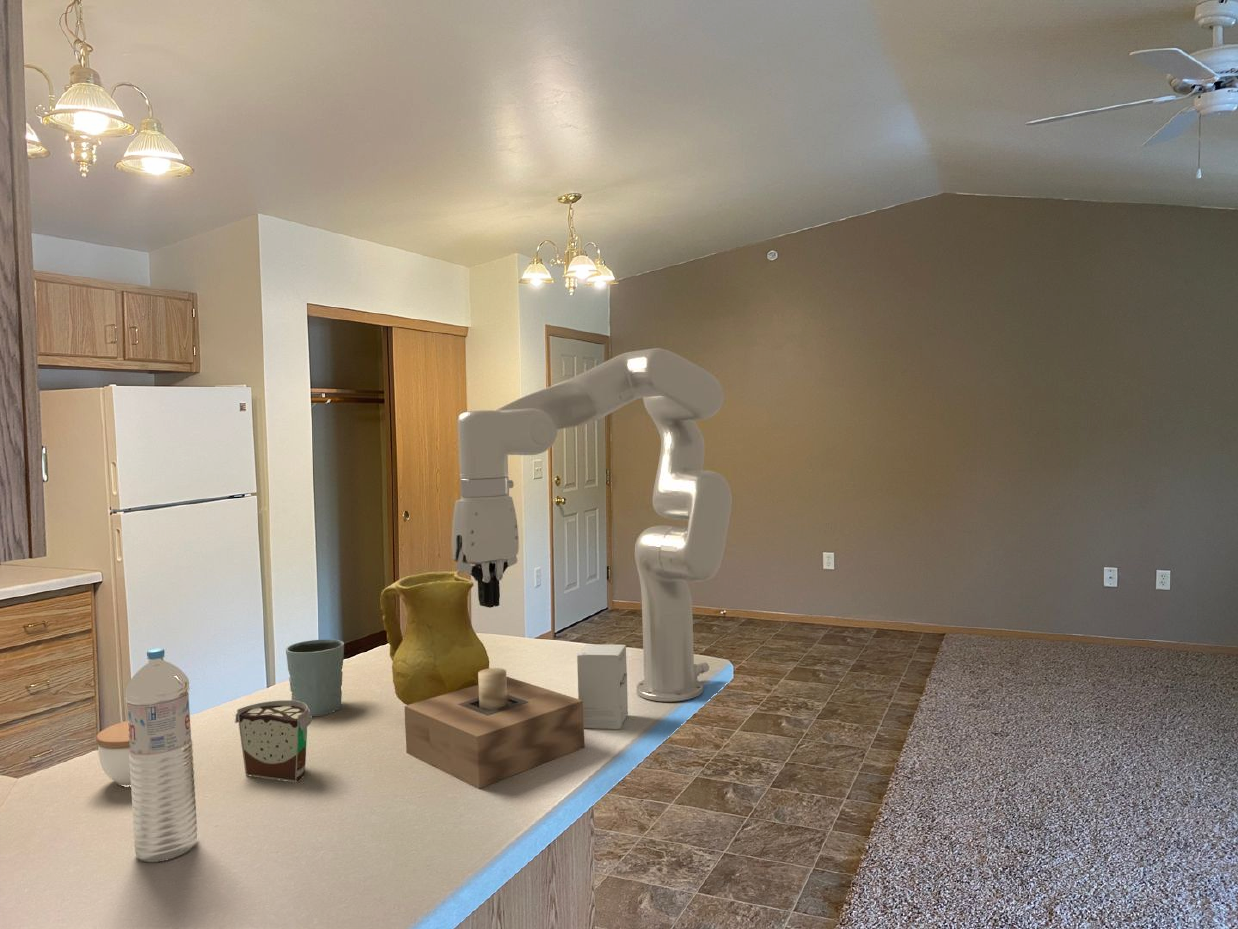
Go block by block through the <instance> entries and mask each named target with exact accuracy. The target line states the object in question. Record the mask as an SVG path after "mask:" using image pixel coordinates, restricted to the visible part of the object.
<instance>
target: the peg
mask: <svg viewBox="0 0 1238 929" xmlns="http://www.w3.org/2000/svg"><path fill="white" fill-rule="evenodd" d="M507 677H508V676H507V670H506V669H505V668H502V667H489V669H484V670H481V671H479V672H478V682H479V706H480V708H481V709H484V710H486V711H493V710H496V709H499V708H502V707H505V706H508V702H507Z"/></svg>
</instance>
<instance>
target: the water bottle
mask: <svg viewBox="0 0 1238 929" xmlns="http://www.w3.org/2000/svg"><path fill="white" fill-rule="evenodd" d="M146 656H147V660H148V663H146V664H144V666H142V667H141V668H140V669H139V670H138V671H137V672H136V673H135V674H134V675H133V676H132V678H130V681H129V682H128V684H127V686H126V688H125V690H124V691H125V692H124V694H125V702H126V703H127V721H128V724H129V742H130V752H129V759H130V774H131V776H130V779H131V787H130V788H131V790H130V791H131V794H130V795H131V809H132V825H133V827H132V828H133V840H134V841H133V843H134V852H135V855H136V857H137V859H139V860H140V861H142V862H145V861H146V863H157V862H156V861H160V862H163V861H162V860H166V859H170V860H172V858H173V859H175V858H174V857H176V858H178V857H180V855H181V856H182V854H183V855H184V854H186V853H187V852H189V851H190V850H191V848H192V847H193V848H194V846H196V844H197V840H198V826H197V825H198V821H197V816H198V815H197V804H196V802H197V801H196V786H195V769H194V768H195V765H194V755H193V754H194V750H193V745H194V744H193V740H192V730H191V729H192V728H191V716H190V712H191V711H190V700H189V698H190V696H189V695H190V694H189V692H190V680H189V677H188V676H187V675H186V673H185V672H183V670H181V669H180V668H179V667H177V666H176V665H175V664H173V663H171V662H169V661H167V660H164V659H165V656H166V655H165V649H164V648H159V647H157V648H153V649H149V650H148V651H147V652H146ZM193 848H192V849H193ZM185 852H186V853H185ZM177 856H178V857H177ZM166 861H167V860H166Z"/></svg>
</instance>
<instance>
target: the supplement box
mask: <svg viewBox="0 0 1238 929" xmlns="http://www.w3.org/2000/svg"><path fill="white" fill-rule="evenodd" d="M576 660H577V661H576V663H577V692H578V693H577V694H578V695H577V696H578V698H577V699H579V700H583V721H584V729H598V730H599V729H600V730H620V729H621V728H622V725H623V724H624V722H625V721H626V718H627V717H628V714H629V710H628V709H629V707H628V706H629V705H628V703H629V702H628V699H629V698H628V668H627V665H628V664H627V645H626V644H608V643H607V644H601V643H600V644H590V643H589V644H586V645H585V646H584V647H583V648H582V649H581V650H580V652H579V653H577V656H576Z"/></svg>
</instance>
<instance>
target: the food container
mask: <svg viewBox="0 0 1238 929" xmlns="http://www.w3.org/2000/svg"><path fill="white" fill-rule="evenodd" d="M234 722H235V724H238V728H239V736H240V743H241V750H242V751H241V752H242V758H243V765H244V774H245V776H246V775H251V776H250V777H252V776H256V777H255V778H259V777H263V778H262V779H267V778H268V779H267V780H274V779H280V780H279V781H281V780H287V781H286V782H289V781H291V783H298V782H299V781H301V780H302V779H303V778H304V777H305V775H306V761H307V758H306V757H307V740H308V739H307V737H308V726H310V725H311V724H312V722H313V717H311V713H310V710H309V708H308V707H307V705H306V704H305V703H303V702H299V701H292V700H289V699H286V700H284V699H283V700H282V699H281V700H272V701H271V700H270V701H265V702H264V701H263V702H258V703H253V704H250V705H247V706H243V707H241V708H238V709H237V710H236V714H235V719H234ZM302 777H303V778H302ZM300 779H301V780H300ZM297 781H298V782H297Z"/></svg>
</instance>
